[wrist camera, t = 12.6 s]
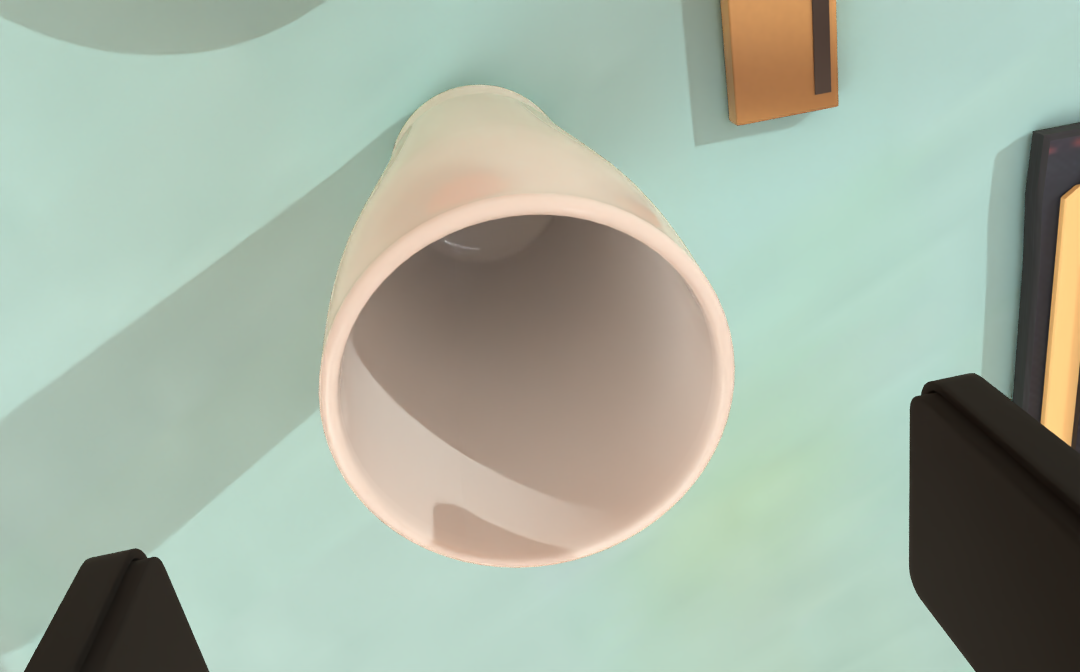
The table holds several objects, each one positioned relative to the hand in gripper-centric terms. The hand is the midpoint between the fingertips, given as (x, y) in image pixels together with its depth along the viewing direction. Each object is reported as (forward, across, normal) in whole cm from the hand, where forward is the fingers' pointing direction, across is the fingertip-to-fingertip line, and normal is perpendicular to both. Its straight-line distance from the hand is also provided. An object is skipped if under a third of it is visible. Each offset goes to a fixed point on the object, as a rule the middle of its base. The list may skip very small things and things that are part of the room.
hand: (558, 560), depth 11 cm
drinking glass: (+19, 0, 0) cm, 19 cm away
